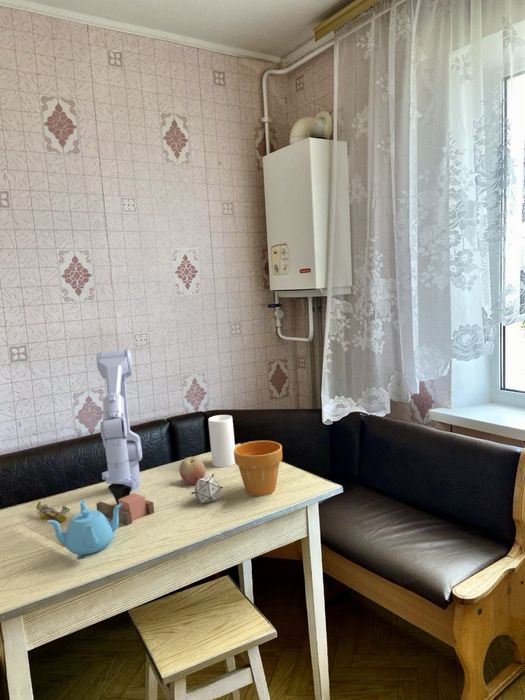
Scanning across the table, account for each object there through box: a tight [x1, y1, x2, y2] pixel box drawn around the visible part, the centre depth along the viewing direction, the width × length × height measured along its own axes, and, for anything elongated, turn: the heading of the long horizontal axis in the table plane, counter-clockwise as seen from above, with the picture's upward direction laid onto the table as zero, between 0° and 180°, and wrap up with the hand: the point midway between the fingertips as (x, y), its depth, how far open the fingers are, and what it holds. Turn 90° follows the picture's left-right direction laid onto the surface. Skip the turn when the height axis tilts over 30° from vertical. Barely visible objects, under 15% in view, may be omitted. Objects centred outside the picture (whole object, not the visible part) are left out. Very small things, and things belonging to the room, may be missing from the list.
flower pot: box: [234, 440, 283, 497], centre depth 158 cm, size 14×14×13 cm
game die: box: [190, 473, 224, 505], centre depth 152 cm, size 9×8×10 cm
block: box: [118, 492, 147, 522], centre depth 145 cm, size 5×5×5 cm
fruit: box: [179, 456, 206, 485], centre depth 169 cm, size 8×8×8 cm
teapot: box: [47, 499, 123, 560], centre depth 130 cm, size 13×13×10 cm
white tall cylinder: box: [207, 414, 236, 468], centre depth 184 cm, size 8×8×16 cm
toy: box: [35, 501, 71, 524], centre depth 151 cm, size 5×5×15 cm
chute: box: [96, 499, 155, 526], centre depth 148 cm, size 14×9×4 cm, turn 50°
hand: (123, 508), depth 148 cm, fingers closed
